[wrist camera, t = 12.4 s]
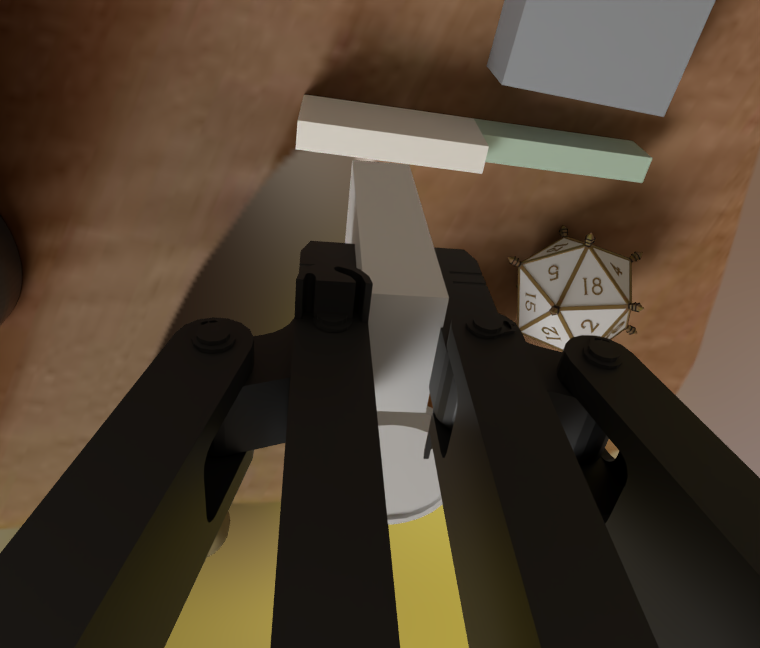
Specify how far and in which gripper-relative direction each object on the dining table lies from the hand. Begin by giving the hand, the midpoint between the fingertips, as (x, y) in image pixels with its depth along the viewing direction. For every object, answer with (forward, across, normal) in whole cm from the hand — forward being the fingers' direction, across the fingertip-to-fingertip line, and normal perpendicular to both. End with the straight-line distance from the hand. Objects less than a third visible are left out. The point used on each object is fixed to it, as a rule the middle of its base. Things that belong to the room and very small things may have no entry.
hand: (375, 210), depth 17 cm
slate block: (+21, +12, +4) cm, 25 cm away
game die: (+21, +15, -12) cm, 29 cm away
